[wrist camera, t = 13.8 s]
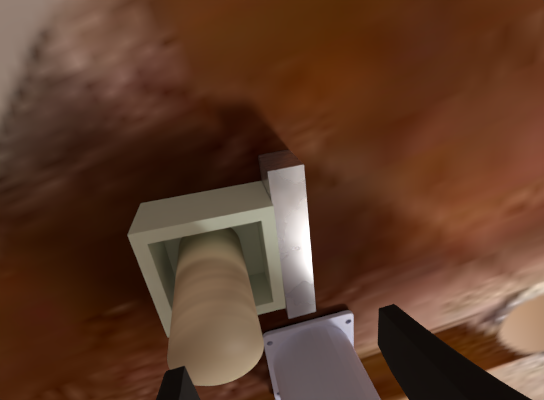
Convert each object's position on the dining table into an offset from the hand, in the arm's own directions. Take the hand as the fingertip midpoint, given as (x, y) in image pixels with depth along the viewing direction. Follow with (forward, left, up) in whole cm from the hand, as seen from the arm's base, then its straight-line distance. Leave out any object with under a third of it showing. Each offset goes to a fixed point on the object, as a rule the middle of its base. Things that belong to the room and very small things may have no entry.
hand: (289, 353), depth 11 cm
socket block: (-1, +3, -11) cm, 11 cm away
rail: (-1, -2, -10) cm, 11 cm away
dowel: (-1, +3, -10) cm, 10 cm away
